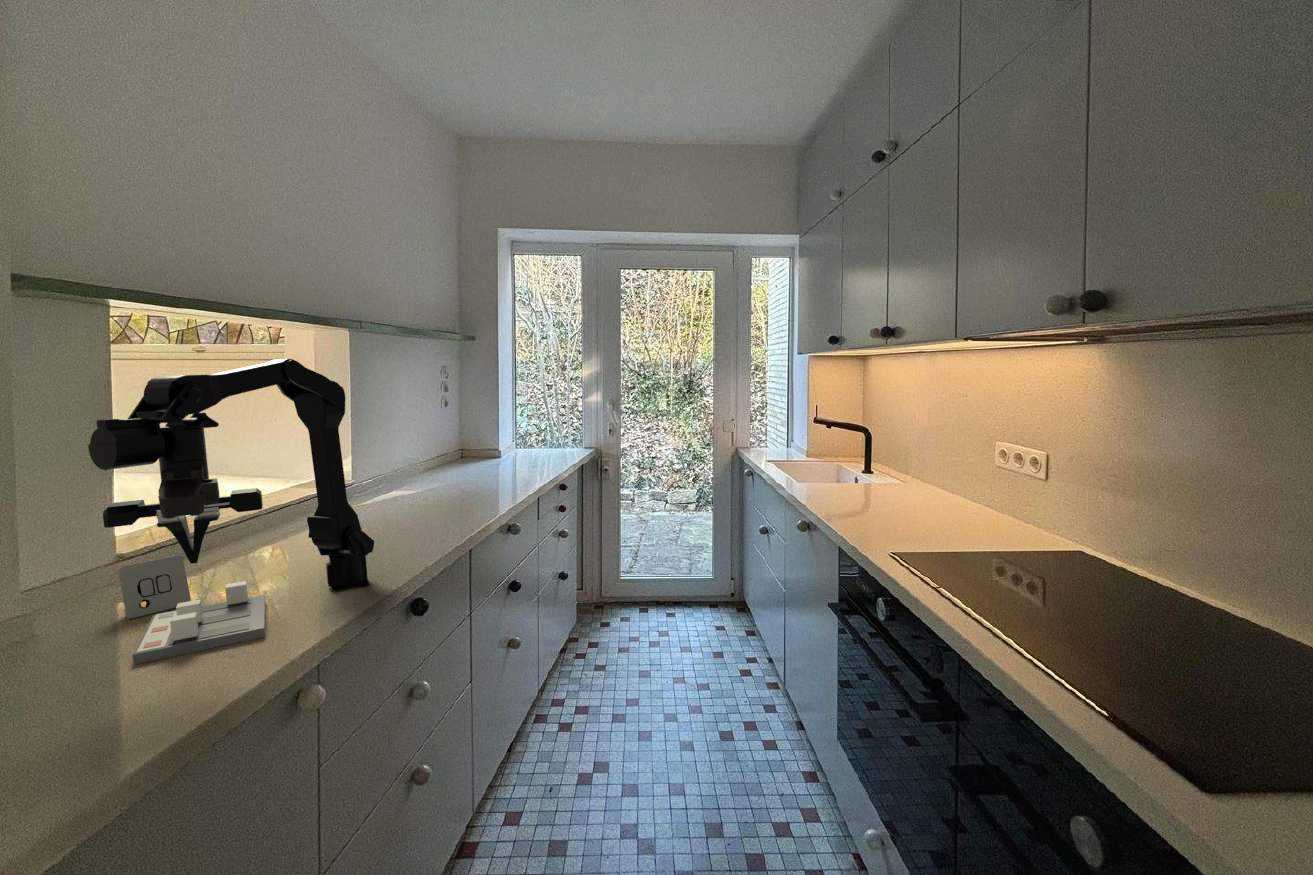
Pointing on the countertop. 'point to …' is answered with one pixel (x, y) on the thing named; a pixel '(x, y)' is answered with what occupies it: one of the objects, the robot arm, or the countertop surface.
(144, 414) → the robot arm
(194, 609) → the switch tab
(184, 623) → the switch tab
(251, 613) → the switch housing
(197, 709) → the countertop surface
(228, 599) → the switch tab
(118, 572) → the electrical switch
